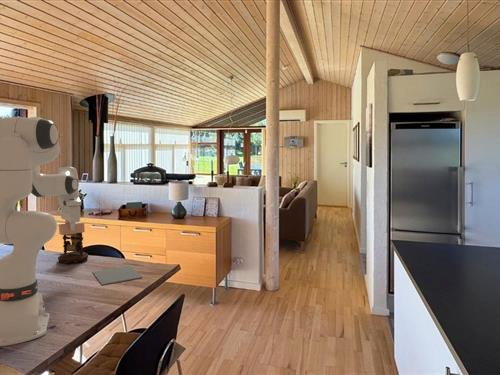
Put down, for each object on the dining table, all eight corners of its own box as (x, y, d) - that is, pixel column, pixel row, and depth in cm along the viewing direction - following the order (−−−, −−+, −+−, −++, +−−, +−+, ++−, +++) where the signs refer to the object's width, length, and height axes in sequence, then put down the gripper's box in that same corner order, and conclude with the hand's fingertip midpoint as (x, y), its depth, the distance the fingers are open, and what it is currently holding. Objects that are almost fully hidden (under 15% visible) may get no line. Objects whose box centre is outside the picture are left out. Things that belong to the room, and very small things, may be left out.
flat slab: (142, 278, 168) (142, 277, 168) (101, 285, 158) (101, 284, 158) (129, 266, 185) (129, 265, 185) (92, 272, 174) (92, 271, 174)
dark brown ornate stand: (93, 257, 200) (93, 222, 198) (77, 265, 185) (76, 227, 183) (69, 256, 202) (68, 221, 200) (51, 263, 187) (50, 226, 185)
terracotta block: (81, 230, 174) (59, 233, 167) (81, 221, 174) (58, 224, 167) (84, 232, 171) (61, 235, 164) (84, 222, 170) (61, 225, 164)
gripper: (56, 200, 174) (58, 228, 174) (67, 202, 158) (68, 233, 159) (70, 199, 178) (72, 226, 178) (82, 201, 162) (83, 231, 163)
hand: (70, 230), depth 169 cm, fingers closed on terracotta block, 4 cm apart
